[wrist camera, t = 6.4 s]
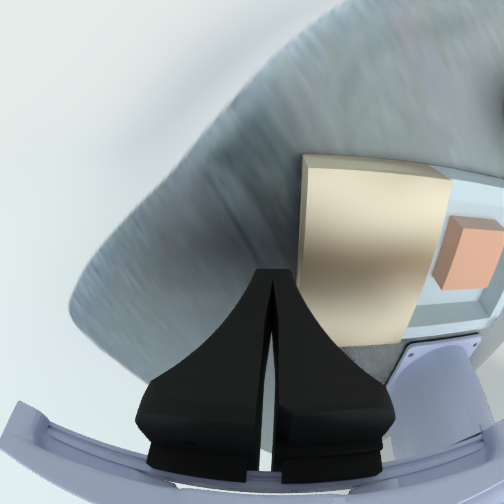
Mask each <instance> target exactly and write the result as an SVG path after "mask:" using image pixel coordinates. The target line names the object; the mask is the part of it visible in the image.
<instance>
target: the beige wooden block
mask: <svg viewBox="0 0 504 504" xmlns="http://www.w3.org/2000/svg"><path fill="white" fill-rule="evenodd" d="M452 182H453V181H452V180H451V179H449V178H448V177H446V176H445V175H443V174H442V173H440V172H439V171H437V170H436V169H434V168H433V167H431V166H430V165H428V164H422V163H415V162H407V161H399V160H390V159H380V158H370V157H358V156H344V155H327V154H302V181H301V207H300V227H299V245H298V261H297V276H296V285H297V288H298V290H299V292H300V294H301V296H302V297H303V299H304V301H305V303H306V304H307V306H308V308H309V309H310V311H311V312H312V314H313V315H314V317H315V318H316V320H317V321H318V323H319V324H320V326H321V327H322V328H323V329H324V331H325V332H326V333H327V334H328V336H329V337H330V338H331V339H332V340H333V341H334V343H335V344H336V345H337V346H338V347H346V346H365V345H380V344H392V343H400V341H401V339H402V337H403V335H404V333H405V330H406V328H407V326H408V324H409V321H410V319H411V317H412V314H413V312H414V309H415V307H416V304H417V302H418V299H419V297H420V294H421V291H422V289H423V286H424V283H425V280H426V278H427V275H428V272H429V269H430V266H431V263H432V260H433V257H434V253H435V250H436V247H437V244H438V240H439V237H440V233H441V229H442V226H443V222H444V218H445V214H446V210H447V205H448V201H449V196H450V192H451V187H452Z"/></svg>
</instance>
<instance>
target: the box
mask: <svg viewBox="0 0 504 504" xmlns="http://www.w3.org/2000/svg"><path fill="white" fill-rule="evenodd" d="M428 165H429V164H428ZM430 166H431V167H433V168H434V169H436V170H437V171H439V172H440V173H442V174H443V175H445V176H446V177H448V178H449V179H451V180H452V181H453V182H452V187H451V192H450V196H449V201H448V205H447V210H446V214H445V218H444V222H443V226H442V229H441V233H440V237H439V240H438V244H437V247H436V250H435V253H434V257H433V260H432V263H431V266H430V269H429V272H428V275H427V278H426V280H425V283H424V286H423V289H422V291H421V294H420V297H419V299H418V302H417V304H416V307H415V309H414V312H413V314H412V317H411V319H410V321H409V324H408V326H407V328H406V330H405V333H404V335H403V337H402V339H406V338H416V337H425V336H434V335H442V334H449V333H456V332H463V331H469V330H475V329H481V328H487V327H492V326H493V324H494V323H495V321H496V319H497V317H498V316H499V314H500V312H501V310H502V308H503V306H504V248H503V251H502V253H501V256H500V258H499V261H498V263H497V266H496V268H495V271H494V273H493V275H492V278H491V280H490V282H489V284H488V287H487V288H477V289H461V290H443V291H442V290H441V289H440V287H439V286H438V284H437V282H436V281H435V279H434V278H433V276H432V274H433V271H434V268H435V265H436V262H437V259H438V256H439V253H440V250H441V246H442V243H443V240H444V236H445V233H446V229H447V226H448V222H449V218H450V215H452V216H462V217H473V218H482V219H491V220H496V221H497V222H499V223H500V224H501V225H502V226H503V227H504V179H502V178H497V177H493V176H489V175H484V174H479V173H474V172H469V171H464V170H459V169H453V168H448V167H442V166H435V165H430Z"/></svg>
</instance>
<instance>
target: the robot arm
mask: <svg viewBox="0 0 504 504" xmlns="http://www.w3.org/2000/svg"><path fill="white" fill-rule="evenodd" d="M271 331H272V340H273V353H274V367H275V405H274V427H273V447H272V464H271V472H270V471H269V472H268V471H267V472H266V471H259V461H260V445H261V428H262V411H263V393H264V380H265V372H266V365H267V359H268V352H269V345H270V338H271ZM481 339H482V337H481V335H480V334H475V335H470V336H464V337H458V338H451V339H444V340H437V341H429V342H421V343H413V344H410V345H409V346H408V347H407V348H406V350H405V352H404V354H403V356H402V358H401V359H400V361H399V363H398V365H397V367H396V369H395V371H394V372H393V374H392V376H391V378H390V379H389V381H388V383H387V385H386V386H384V385H383V384H381V383H380V382H379V381H377V380H376V379H374V378H373V377H372V376H370V375H369V374H367V373H366V372H365V371H364V370H362V369H361V368H360V367H359V366H358V365H357V364H355V363H354V362H353V361H352V360H351V359H350V358H349V357H348V356H347V355H346V354H345V353H344V352H343V351H342V350H341V349H340V348H339V347H338V346H337V345H336V344H335V343H334V341H333V340H332V339H331V338H330V337H329V336H328V334H327V333H326V332H325V331H324V329H323V328H322V327H321V326H320V324H319V323H318V321H317V320H316V318H315V317H314V315H313V314H312V312H311V311H310V309H309V308H308V306H307V304H306V303H305V301H304V299H303V297H302V296H301V294H300V292H299V290H298V288H297V285H296V283H295V281H294V278H293V276H292V272H291V271H290V270H289V269H257V270H256V271H255V272H254V275H253V277H252V279H251V281H250V283H249V285H248V287H247V289H246V291H245V292H244V294H243V296H242V297H241V299H240V300H239V302H238V303H237V305H236V306H235V308H234V309H233V310H232V312H231V313H230V314H229V316H228V317H227V318H226V319H225V321H224V322H223V323H222V324H221V325H220V327H219V328H218V329H217V330H216V331H215V332H214V333H213V334H212V335H211V336H210V337H209V338H208V339H207V340H206V341H205V342H204V343H203V344H202V345H201V346H200V347H198V348H197V349H196V350H195V351H194V352H192V353H191V354H190V355H189V356H187V357H186V358H185V359H184V360H182V361H181V362H180V363H178V364H177V365H175V366H174V367H173V368H171V369H169V370H168V371H166V372H165V373H163V374H161V375H160V376H158V377H157V378H155V379H153V380H151V382H150V384H149V385H148V387H147V389H146V391H145V393H144V395H143V397H142V400H141V403H140V406H139V408H138V412H137V415H136V418H135V422H136V424H137V425H138V428H139V429H140V430H141V431H142V433H144V435H145V436H146V437H147V438H148V439H149V441H151V445H150V449H149V453H148V455H144V454H140V453H136V452H133V451H129V450H126V449H122V448H119V447H116V446H112V445H109V444H106V443H103V442H100V441H97V440H94V439H92V438H89V437H86V436H83V435H81V434H79V433H76V432H74V431H71V430H69V429H66V428H64V427H62V426H59V425H57V424H55V423H53V422H50V421H49V419H48V418H47V417H46V416H45V415H44V414H42V413H41V412H40V411H38V410H37V409H35V408H33V407H31V406H29V405H27V404H25V403H23V402H21V401H18V402H17V405H16V406H15V408H14V410H13V412H12V414H11V416H10V419H9V421H8V423H7V425H6V427H5V429H4V432H3V434H2V436H1V438H0V450H2V451H3V452H5V453H6V454H7V455H9V456H10V457H11V458H13V459H15V460H16V461H17V462H19V463H20V464H22V465H23V466H25V467H26V468H28V469H29V470H31V471H33V472H34V473H36V474H38V475H39V476H40V477H42V478H44V479H46V480H47V481H49V482H51V483H53V484H54V485H56V486H58V487H60V488H62V489H64V490H65V491H67V492H70V493H71V494H74V495H75V496H77V497H80V498H82V499H84V500H86V501H88V502H90V503H93V504H504V419H503V420H501V421H499V422H497V423H495V421H494V418H493V416H492V413H491V410H490V407H489V405H488V402H487V399H486V397H485V394H484V391H483V389H482V386H481V384H480V382H479V379H478V377H477V375H476V372H475V370H474V368H473V365H472V363H471V361H470V359H469V358H470V356H471V355H472V353H473V352H474V350H475V349H476V347H477V346H478V344H479V343H480V341H481ZM388 430H390V436H391V441H392V446H393V453H394V456H395V458H396V460H395V461H390V462H385V463H382V462H381V455H380V450H382V449H383V443H382V436H383V435H384V434H385V433H386V432H387V431H388ZM165 480H166V481H165ZM168 481H171V482H175V483H180V484H186V485H192V486H197V487H204V488H211V489H219V490H228V491H240V492H254V493H309V492H325V491H336V490H345V489H351V490H350V491H349V494H348V495H339V494H315V495H251V494H250V495H249V494H237V493H227V492H218V491H210V490H200V489H192V488H191V489H190V488H189V489H188V488H185V489H184V488H182V489H178V488H177V487H176V485H175V484H174V483H171V482H168ZM352 488H353V489H352Z"/></svg>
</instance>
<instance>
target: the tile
mask: <svg viewBox="0 0 504 504" xmlns="http://www.w3.org/2000/svg"><path fill="white" fill-rule="evenodd" d="M503 248H504V227H503V226H502V225H501V224H500V223H499V222H497V221H496V220H491V219H482V218H473V217H462V216H452V215H450V218H449V222H448V226H447V229H446V233H445V236H444V240H443V243H442V246H441V250H440V253H439V256H438V259H437V262H436V265H435V268H434V271H433V274H432V276H433V278H434V279H435V281H436V282H437V284H438V286H439V287H440V289H441V290H442V291H443V290H461V289H477V288H487V287H488V284H489V282H490V280H491V278H492V275H493V273H494V271H495V268H496V266H497V263H498V261H499V258H500V256H501V253H502V251H503Z"/></svg>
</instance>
